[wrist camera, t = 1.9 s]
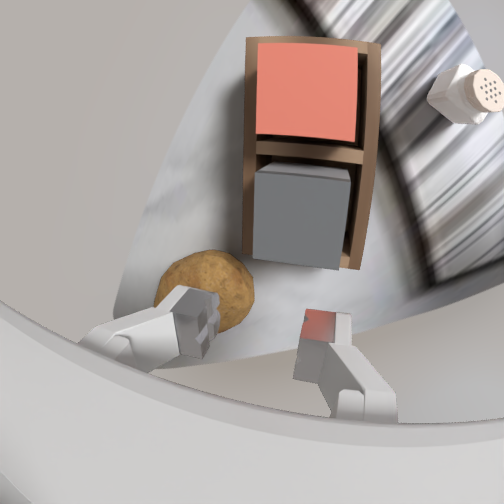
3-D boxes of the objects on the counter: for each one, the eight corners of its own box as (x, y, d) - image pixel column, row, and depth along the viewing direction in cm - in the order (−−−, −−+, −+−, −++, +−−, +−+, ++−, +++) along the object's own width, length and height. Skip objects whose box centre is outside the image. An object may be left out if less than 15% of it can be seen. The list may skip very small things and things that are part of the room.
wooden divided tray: (370, 62, 22) (380, 44, 16) (355, 238, 29) (359, 270, 23) (266, 55, 24) (246, 37, 18) (261, 226, 32) (242, 253, 26)
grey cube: (347, 168, 22) (350, 182, 17) (339, 238, 25) (338, 270, 19) (273, 161, 24) (254, 172, 18) (270, 229, 26) (252, 258, 21)
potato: (157, 277, 39) (123, 309, 32) (226, 215, 32) (194, 243, 25) (205, 329, 40) (180, 367, 33) (283, 281, 34) (267, 323, 27)
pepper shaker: (438, 71, 20) (479, 52, 11) (469, 96, 20) (517, 90, 11) (422, 100, 22) (459, 92, 13) (453, 125, 22) (499, 129, 13)
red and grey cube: (352, 66, 19) (357, 47, 13) (349, 138, 21) (354, 141, 16) (276, 61, 20) (257, 43, 15) (275, 131, 22) (255, 133, 17)
